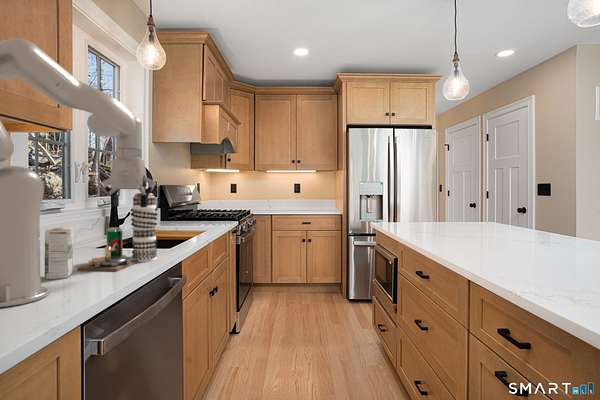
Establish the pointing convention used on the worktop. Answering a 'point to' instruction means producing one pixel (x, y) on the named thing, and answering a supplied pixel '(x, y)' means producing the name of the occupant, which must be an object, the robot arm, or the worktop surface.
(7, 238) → the robot arm
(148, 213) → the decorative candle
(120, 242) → the soda can
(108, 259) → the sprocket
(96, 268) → the base board
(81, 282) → the worktop surface
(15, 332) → the worktop surface
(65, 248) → the syrup box
